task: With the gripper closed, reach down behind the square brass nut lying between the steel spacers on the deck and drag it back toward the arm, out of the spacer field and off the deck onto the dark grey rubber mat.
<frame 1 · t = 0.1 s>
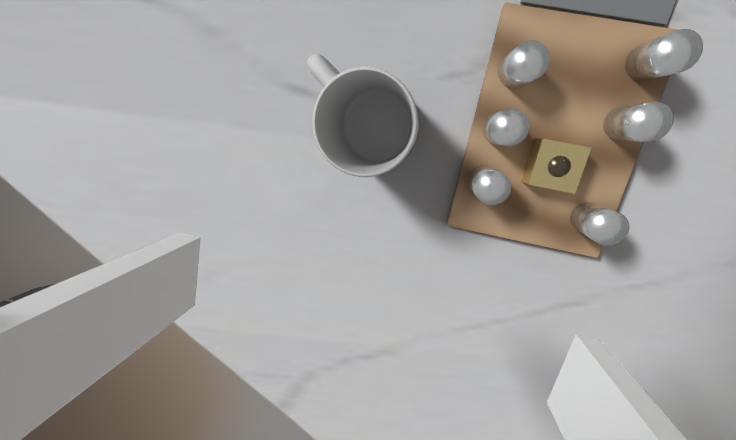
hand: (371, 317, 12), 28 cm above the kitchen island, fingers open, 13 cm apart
nut: (549, 164, 35), point 1 cm above the kitchen island, touching deck
spacers: (565, 133, 32), on the deck, point 3 cm above the kitchen island
deck: (550, 138, 35), on the kitchen island
mug: (368, 114, 37), on the kitchen island
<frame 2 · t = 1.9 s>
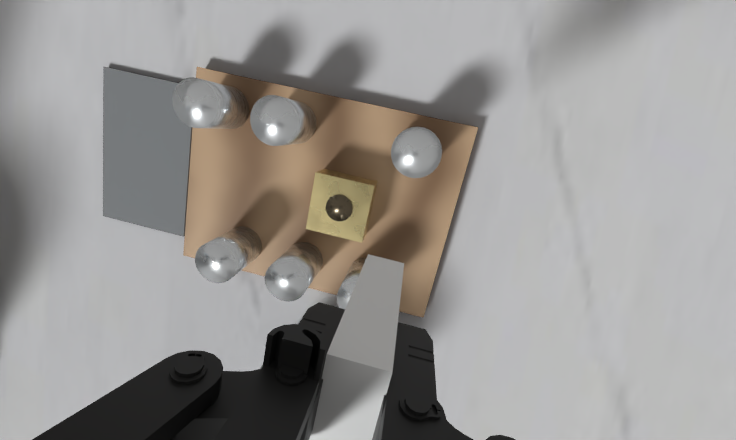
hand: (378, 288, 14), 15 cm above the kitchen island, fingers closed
mat: (148, 155, 30), on the kitchen island
nut: (345, 201, 28), point 1 cm above the kitchen island, touching deck
spacers: (300, 201, 26), on the deck, point 3 cm above the kitchen island
deck: (318, 195, 29), on the kitchen island
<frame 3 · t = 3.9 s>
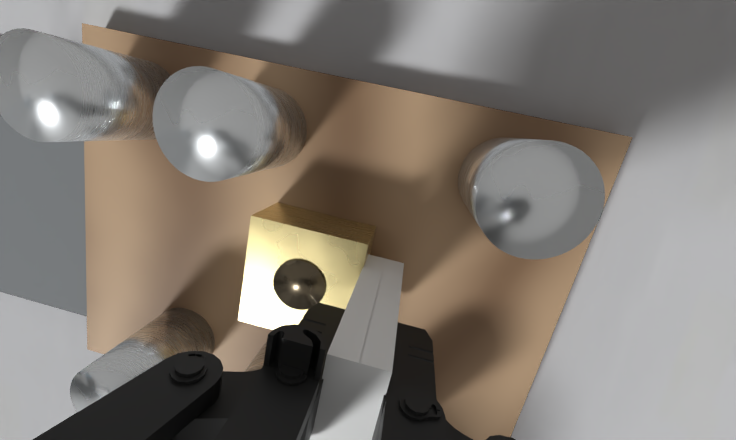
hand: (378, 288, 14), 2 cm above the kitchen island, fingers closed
mat: (24, 183, 18), on the kitchen island
nut: (317, 260, 15), point 1 cm above the kitchen island, touching gripper
spacers: (275, 282, 13), on the deck, point 3 cm above the kitchen island
deck: (312, 256, 16), on the kitchen island
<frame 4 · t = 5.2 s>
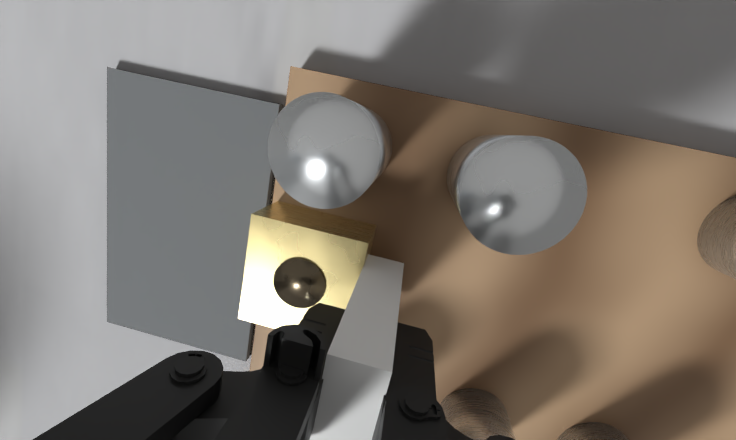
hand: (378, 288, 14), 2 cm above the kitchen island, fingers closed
mat: (187, 224, 17), on the kitchen island
nut: (318, 259, 15), point 1 cm above the kitchen island, touching deck, gripper
spacers: (510, 343, 13), on the deck, point 3 cm above the kitchen island
deck: (503, 304, 16), on the kitchen island
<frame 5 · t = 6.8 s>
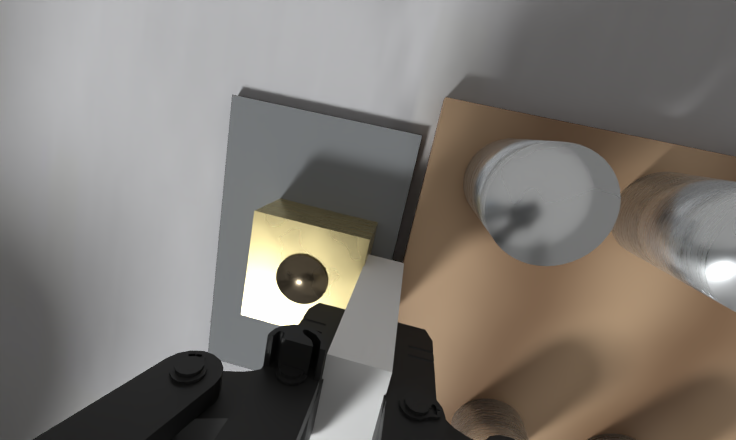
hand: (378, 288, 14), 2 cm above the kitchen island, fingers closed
mat: (303, 257, 16), on the kitchen island
nut: (319, 256, 16), resting on mat, touching gripper
spacers: (694, 397, 12), on the deck, point 3 cm above the kitchen island
deck: (648, 345, 15), on the kitchen island
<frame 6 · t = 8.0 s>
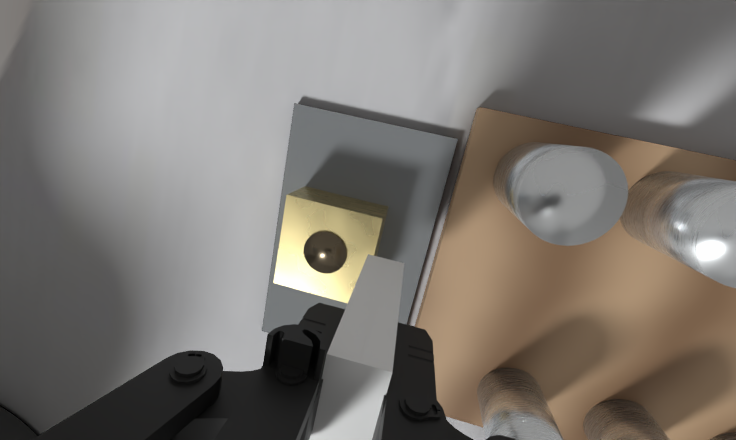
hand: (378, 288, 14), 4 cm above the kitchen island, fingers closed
mat: (349, 244, 19), on the kitchen island
nut: (338, 236, 18), resting on mat
spacers: (689, 361, 14), on the deck, point 3 cm above the kitchen island
deck: (652, 322, 17), on the kitchen island
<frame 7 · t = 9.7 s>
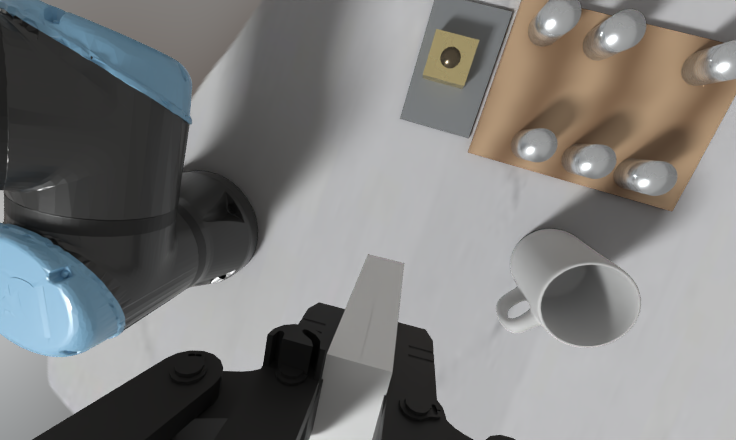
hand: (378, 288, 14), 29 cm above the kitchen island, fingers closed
mat: (452, 68, 38), on the kitchen island
nut: (449, 62, 37), resting on mat
spacers: (606, 103, 33), on the deck, point 3 cm above the kitchen island
deck: (596, 107, 36), on the kitchen island
mug: (533, 269, 42), on the kitchen island
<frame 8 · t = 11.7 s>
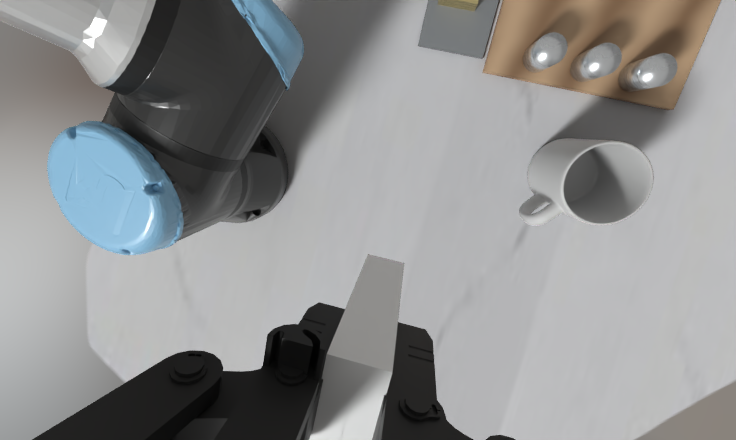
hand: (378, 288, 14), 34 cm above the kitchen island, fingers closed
spacers: (609, 7, 37), on the deck, point 3 cm above the kitchen island
deck: (598, 18, 40), on the kitchen island
mug: (549, 180, 45), on the kitchen island
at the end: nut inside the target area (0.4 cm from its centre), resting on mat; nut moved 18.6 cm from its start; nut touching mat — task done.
